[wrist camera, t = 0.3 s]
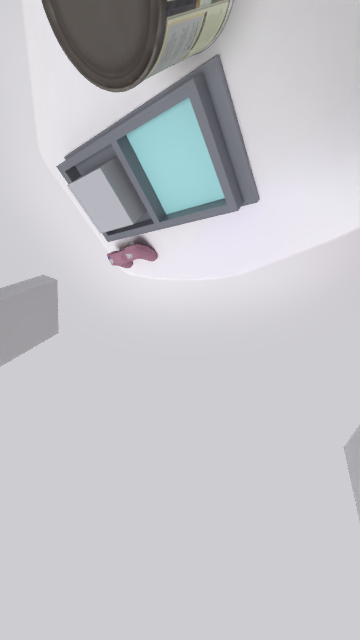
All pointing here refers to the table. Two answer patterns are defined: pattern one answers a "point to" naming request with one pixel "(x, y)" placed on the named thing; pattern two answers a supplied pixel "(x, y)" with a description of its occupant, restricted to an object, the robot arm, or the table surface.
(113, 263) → the video game controller
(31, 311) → the robot arm
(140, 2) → the coffee can
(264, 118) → the table surface
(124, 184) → the grey compartment tray
